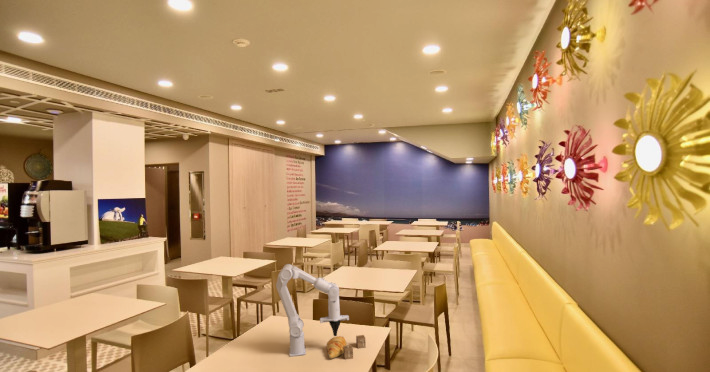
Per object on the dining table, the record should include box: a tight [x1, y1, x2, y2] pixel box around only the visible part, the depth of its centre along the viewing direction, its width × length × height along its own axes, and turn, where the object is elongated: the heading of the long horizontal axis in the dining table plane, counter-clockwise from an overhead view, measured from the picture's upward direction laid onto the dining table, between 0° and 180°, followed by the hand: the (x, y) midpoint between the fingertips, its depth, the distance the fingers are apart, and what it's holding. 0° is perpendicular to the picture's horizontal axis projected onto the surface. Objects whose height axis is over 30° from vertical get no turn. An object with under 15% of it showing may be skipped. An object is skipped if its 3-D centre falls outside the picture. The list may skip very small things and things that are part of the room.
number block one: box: [343, 344, 354, 361], centre depth 178 cm, size 4×4×5 cm
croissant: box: [326, 335, 347, 359], centre depth 186 cm, size 21×10×8 cm, turn 168°
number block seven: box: [355, 334, 366, 349], centre depth 190 cm, size 4×4×5 cm
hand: (335, 335), depth 186 cm, fingers closed
